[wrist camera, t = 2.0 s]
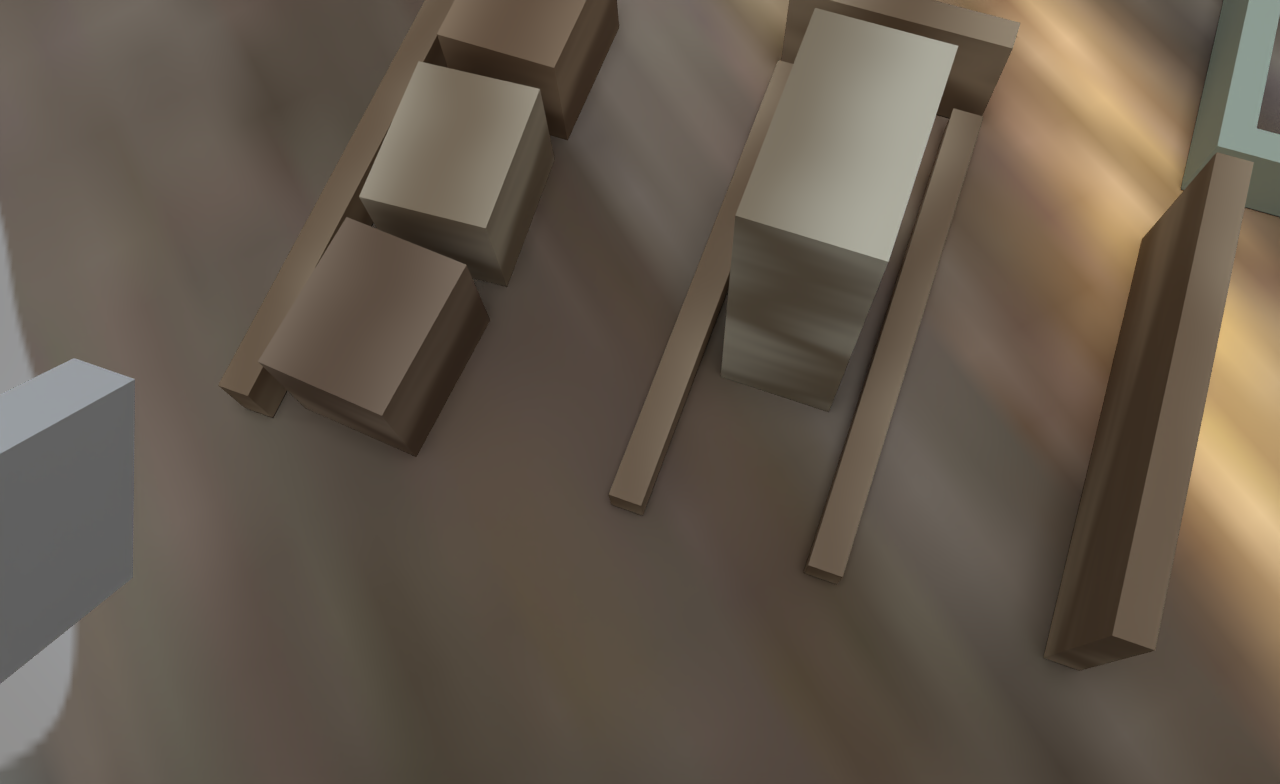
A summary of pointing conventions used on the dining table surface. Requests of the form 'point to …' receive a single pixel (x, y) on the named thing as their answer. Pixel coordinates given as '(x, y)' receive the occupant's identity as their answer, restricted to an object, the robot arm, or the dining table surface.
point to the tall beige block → (827, 203)
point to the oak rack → (911, 333)
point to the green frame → (1240, 100)
